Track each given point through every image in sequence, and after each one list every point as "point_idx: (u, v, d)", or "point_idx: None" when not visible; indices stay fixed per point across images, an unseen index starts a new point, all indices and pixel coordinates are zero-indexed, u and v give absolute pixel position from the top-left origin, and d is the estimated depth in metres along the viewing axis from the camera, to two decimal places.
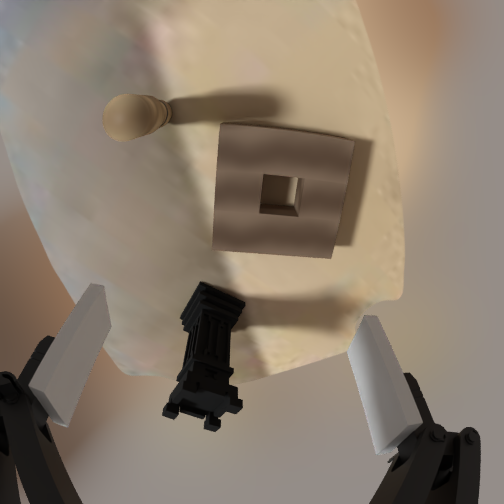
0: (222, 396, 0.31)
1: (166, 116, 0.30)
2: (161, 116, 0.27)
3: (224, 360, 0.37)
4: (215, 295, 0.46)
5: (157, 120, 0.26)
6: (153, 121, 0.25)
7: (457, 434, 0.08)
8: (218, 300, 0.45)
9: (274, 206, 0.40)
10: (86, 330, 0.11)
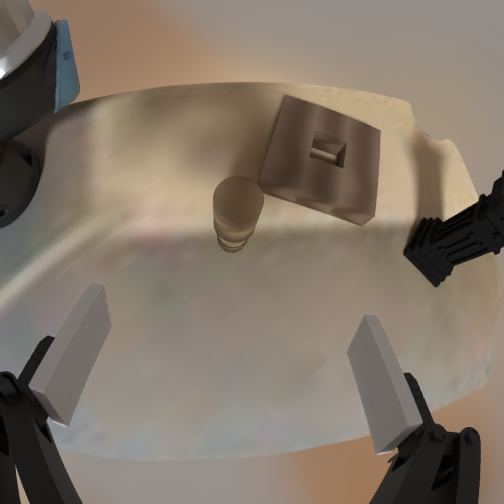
0: (503, 184, 0.24)
1: None
2: None
3: None
4: (416, 241, 0.41)
5: None
6: None
7: (457, 434, 0.08)
8: (421, 235, 0.40)
9: None
10: (86, 330, 0.11)
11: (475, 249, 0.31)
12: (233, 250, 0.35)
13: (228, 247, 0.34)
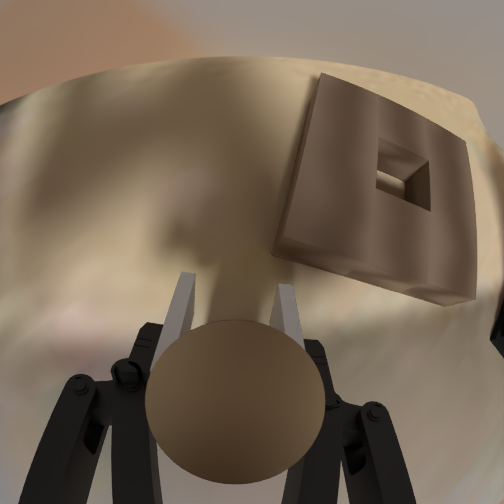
0: None
1: None
2: None
3: None
4: None
5: None
6: None
7: (357, 412, 0.09)
8: None
9: None
10: (187, 314, 0.13)
11: None
12: None
13: None
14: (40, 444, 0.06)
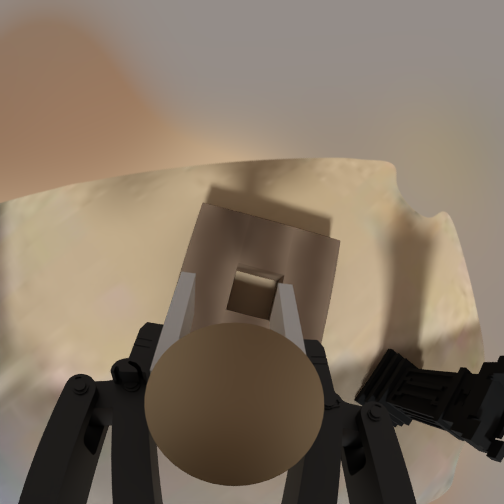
0: (492, 383, 0.15)
1: None
2: None
3: (449, 378, 0.22)
4: (374, 384, 0.32)
5: None
6: None
7: (357, 412, 0.09)
8: (379, 381, 0.31)
9: (273, 303, 0.34)
10: (187, 314, 0.13)
11: None
12: None
13: None
14: (40, 444, 0.06)
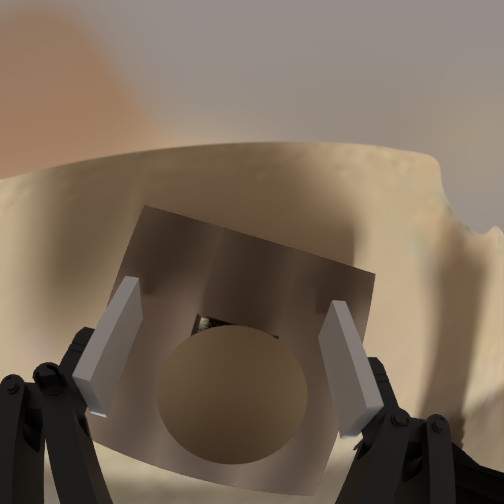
0: None
1: None
2: None
3: None
4: None
5: None
6: None
7: (423, 422, 0.09)
8: None
9: None
10: (124, 320, 0.12)
11: None
12: None
13: None
14: None
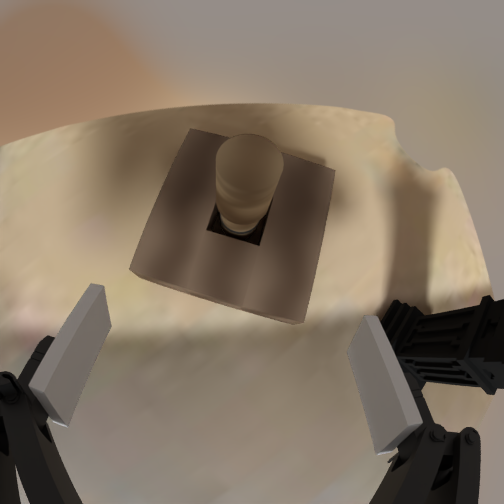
0: None
1: None
2: None
3: (470, 315, 0.18)
4: None
5: None
6: None
7: (457, 434, 0.08)
8: (385, 333, 0.28)
9: (261, 235, 0.30)
10: (86, 330, 0.11)
11: None
12: (240, 237, 0.28)
13: (234, 233, 0.27)
14: None
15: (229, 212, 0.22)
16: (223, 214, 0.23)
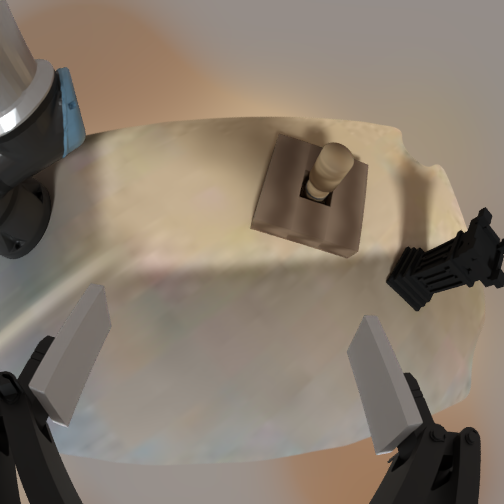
0: (478, 224, 0.29)
1: None
2: None
3: (452, 243, 0.35)
4: (399, 270, 0.45)
5: None
6: None
7: (457, 434, 0.08)
8: (403, 265, 0.44)
9: (325, 203, 0.47)
10: (86, 330, 0.11)
11: (451, 281, 0.35)
12: None
13: (314, 199, 0.44)
14: None
15: (321, 184, 0.39)
16: (315, 185, 0.40)
